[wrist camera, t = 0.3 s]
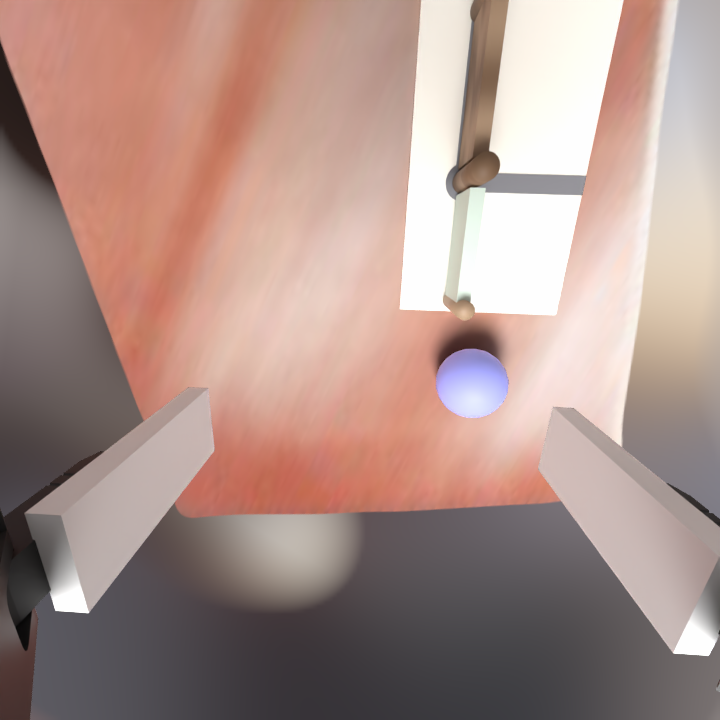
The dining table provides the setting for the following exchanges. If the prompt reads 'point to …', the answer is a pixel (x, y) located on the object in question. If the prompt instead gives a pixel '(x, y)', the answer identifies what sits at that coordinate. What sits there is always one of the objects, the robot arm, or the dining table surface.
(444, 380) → the sphere
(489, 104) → the fixed fence section
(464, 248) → the folding fence panel
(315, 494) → the dining table surface
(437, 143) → the card
